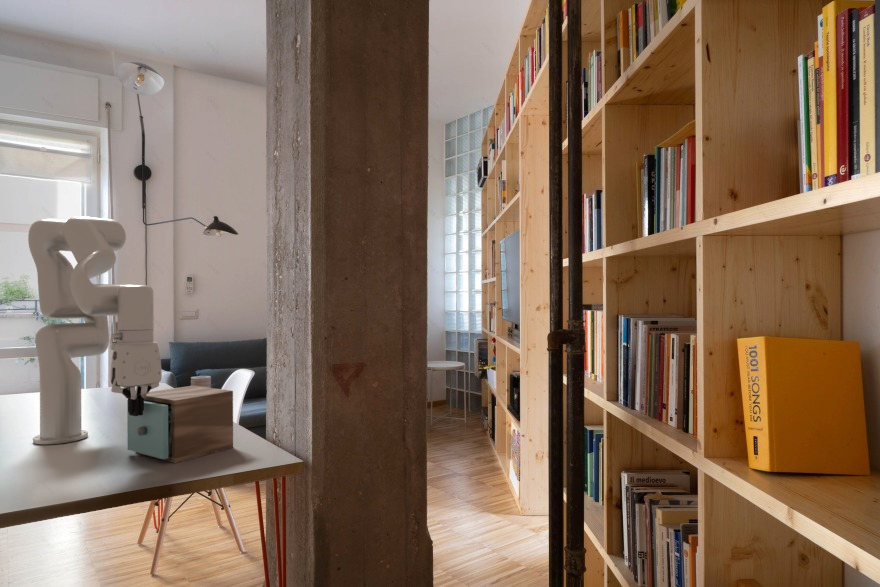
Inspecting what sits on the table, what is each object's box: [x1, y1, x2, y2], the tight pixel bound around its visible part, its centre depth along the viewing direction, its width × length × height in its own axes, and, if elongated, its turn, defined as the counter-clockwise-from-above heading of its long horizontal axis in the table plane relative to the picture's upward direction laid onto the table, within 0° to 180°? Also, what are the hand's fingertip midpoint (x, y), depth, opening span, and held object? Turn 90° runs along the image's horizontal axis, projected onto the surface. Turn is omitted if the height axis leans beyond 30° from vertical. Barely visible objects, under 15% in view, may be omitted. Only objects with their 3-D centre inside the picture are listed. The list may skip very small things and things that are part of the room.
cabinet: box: [135, 385, 234, 463], centre depth 146 cm, size 17×16×15 cm
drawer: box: [126, 399, 172, 460], centre depth 143 cm, size 16×16×12 cm
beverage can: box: [190, 375, 212, 388], centre depth 172 cm, size 6×6×15 cm
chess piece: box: [168, 404, 172, 443], centre depth 144 cm, size 5×5×10 cm
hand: (136, 414), depth 136 cm, fingers closed
